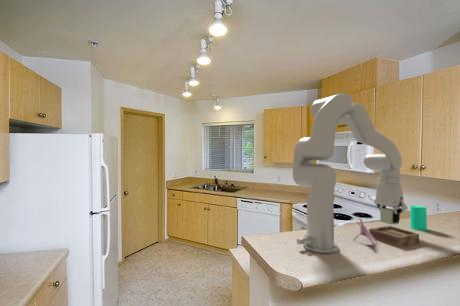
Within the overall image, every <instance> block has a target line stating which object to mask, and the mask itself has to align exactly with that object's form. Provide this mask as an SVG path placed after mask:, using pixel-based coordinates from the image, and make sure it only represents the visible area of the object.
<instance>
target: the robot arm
mask: <svg viewBox="0 0 460 306" xmlns="http://www.w3.org/2000/svg"><path fill="white" fill-rule="evenodd" d="M310 114H311V116H312V117H313V120H312V125H311V132H310V136H308V137H302V138H301V139H299V140H298V141H297V142H296V144H295V147H294V151H293V160H292V161H293V162H292V164H293V165H292V179H293V181H294V182H295V184H296V185H298V186H300V187H305V188H310V191H309V192H308V194H307V197H306V234H304V237H303V238H297V239H296V244H297V245H303V247H304V248H305V249H306V250H308V251H311V252H313V253H318V254H334V253H337V252H338V251H339V249H340V248H339V245H338V244H337V243H336V242H335V223H334V221H335V220H334V218H335V215H334V214H335V213H334V212H335V211H334V201H335V200H334V197H335V196H334V195H335V194H334V193H335V187H336V182H337V172H336V170H335V169H334V168H333V166H331V165H328V164H324V163H313V162H314V161H327V160H330V159H331V158H332V157H333V155H334V150H335V149H334V148H335V139H336V138H335V137H336V127H337V126H344V125H348V128H349V129H350V131H351V134H352V136H353V137H354V140H355V141H356V142H358V143H361V144H363V145H365V146H369V147H373V148H374V149H377V150H378V151H380V152H379V153H377V152H376V153H375V152H373V153H369V154H366V155H365V157H364V159H363V164H364V166H365V167H366V168H367V169H369V170H372V171H379V177H378V179H377V180H378V181H379V182H378V184H377V187H376V194H375V200H374V201H373V203H374V204H375V205H376V207H377V208H378V210H379V211H380V212H379V213H380V218H381V209H382V208H387V207H388V208H392V209H393V210H394V214H393V223H399V224H400V217H401V216H400V215H401V213H403V212H404V211H406V210H408V206H407V204H406V203H405V202H404V191H403V187H402V184H401V167H402V165H403V158H402V155H401V153H400V151H399V149H398V146H397V145H396V144H395V143H394V142H393V141H392V140H391V139H390V138H388V137H386V136H385V135H383V133H380V132H378V130H377V129H376V128H375V125H374V123H373V121H372V119H371V117H370V115H369V114H368V111H367V109H366V107H365V105H364V104H362V103H361V102H353V98H352V96H351V95H350V94H348V93H346V92H345V93H344V92H341V93H337V94H334V95H330V96H328V97H324V98H321V99H317V100H315V101H314V102H313V103H312V104H311V107H310Z"/></svg>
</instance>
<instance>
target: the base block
mask: <svg viewBox="0 0 460 306" xmlns="http://www.w3.org/2000/svg"><path fill="white" fill-rule="evenodd" d="M368 230H369V231H368V232H369V233H371V234H372V235H373V237H374V238H375V240H376V241H378V242H382V243H384V244H388V245H390V246H393V247H396V248H399V249H400V248H403V247H407V246H412V245H417V244H420V234H419V233H417V232H412V231H409V230H405V229H402V228H398V227H396V226H395V227H394V226H391V225H385V226H379V227H373V228H369V229H368Z"/></svg>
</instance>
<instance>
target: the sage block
mask: <svg viewBox="0 0 460 306" xmlns="http://www.w3.org/2000/svg"><path fill="white" fill-rule="evenodd" d="M393 214H394V210H393V208H392V207H386V208H382V209H381V217H380V222H381V223H385V224H389V225H390V226H391V225H399V224H400V222H399V223H393Z"/></svg>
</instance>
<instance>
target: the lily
mask: <svg viewBox="0 0 460 306" xmlns="http://www.w3.org/2000/svg"><path fill="white" fill-rule="evenodd" d="M356 216H357V217H358V219H359V221H356V223H357V224H358V225H359V227H360V230H359V233H358V235H357V236H356V237H354V239H353V241H352V242H355V241H356V239H357V238H358V237H359V236H364V237H366V238H367V239H368V240H370V242H371V243H372V245H373V247H375V243H374V241H375V242H376V243H377V241H378V240H376V239H375V238H374V237H373V235H372V234H371V233H369V229H367V227H366V225H365V224H364V222H363V220H362V219H361V218H360V216H359V215H358V214H357V215H356ZM375 248H376V247H375Z"/></svg>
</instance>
